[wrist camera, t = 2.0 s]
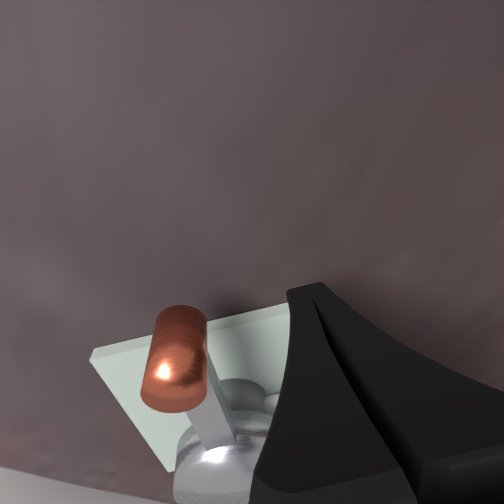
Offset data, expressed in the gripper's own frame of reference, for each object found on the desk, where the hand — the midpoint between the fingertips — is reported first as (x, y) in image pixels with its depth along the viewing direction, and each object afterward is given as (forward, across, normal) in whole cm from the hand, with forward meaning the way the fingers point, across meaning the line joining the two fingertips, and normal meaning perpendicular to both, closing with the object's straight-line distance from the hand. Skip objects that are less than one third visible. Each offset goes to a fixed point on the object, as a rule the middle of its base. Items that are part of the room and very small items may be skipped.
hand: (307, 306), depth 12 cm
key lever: (+1, +5, +6) cm, 7 cm away
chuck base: (+4, +4, +9) cm, 10 cm away
